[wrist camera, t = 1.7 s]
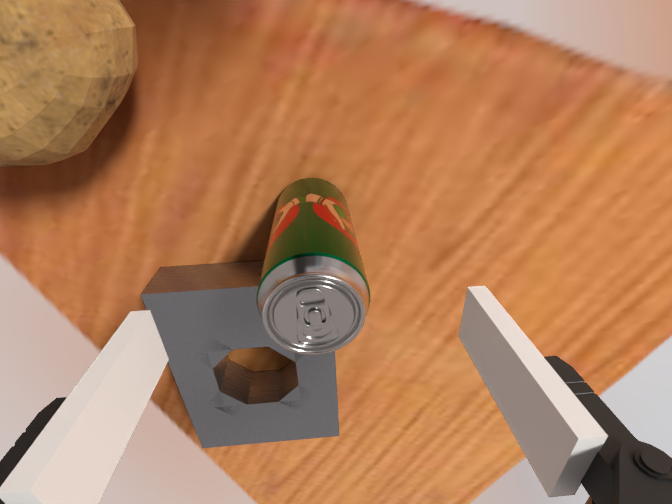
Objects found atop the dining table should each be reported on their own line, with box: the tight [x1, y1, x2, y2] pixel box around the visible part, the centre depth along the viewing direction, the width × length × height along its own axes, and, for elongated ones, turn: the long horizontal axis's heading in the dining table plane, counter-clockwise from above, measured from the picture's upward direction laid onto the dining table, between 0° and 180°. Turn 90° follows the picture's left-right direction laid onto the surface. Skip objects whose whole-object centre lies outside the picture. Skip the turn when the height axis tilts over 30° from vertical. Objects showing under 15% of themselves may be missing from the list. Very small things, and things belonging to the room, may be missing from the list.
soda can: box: [256, 178, 370, 355], centre depth 19 cm, size 5×5×12 cm
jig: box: [141, 260, 339, 448], centre depth 29 cm, size 18×13×4 cm
